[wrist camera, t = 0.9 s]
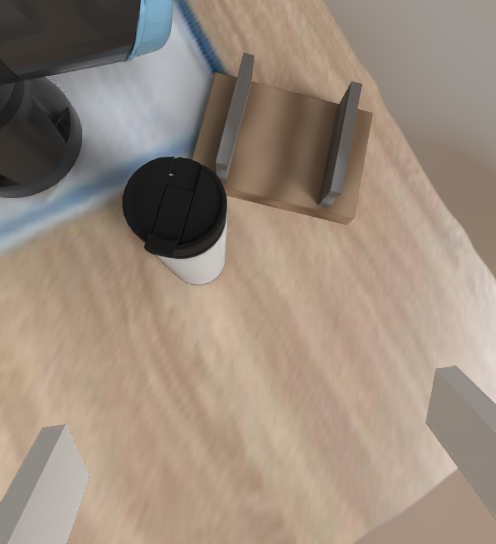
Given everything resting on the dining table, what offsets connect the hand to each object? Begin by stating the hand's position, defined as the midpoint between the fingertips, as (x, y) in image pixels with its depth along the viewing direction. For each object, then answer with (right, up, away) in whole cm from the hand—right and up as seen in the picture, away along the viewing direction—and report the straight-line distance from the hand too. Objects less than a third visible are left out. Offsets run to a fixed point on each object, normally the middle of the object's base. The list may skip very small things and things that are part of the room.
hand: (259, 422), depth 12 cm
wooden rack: (+4, +20, +30) cm, 36 cm away
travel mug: (-6, +7, +27) cm, 28 cm away
